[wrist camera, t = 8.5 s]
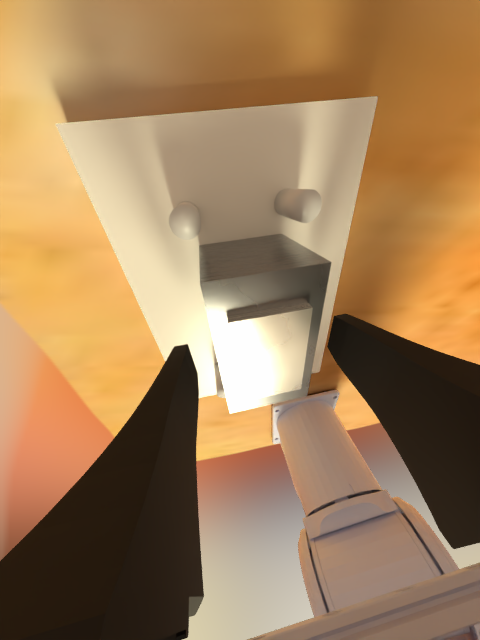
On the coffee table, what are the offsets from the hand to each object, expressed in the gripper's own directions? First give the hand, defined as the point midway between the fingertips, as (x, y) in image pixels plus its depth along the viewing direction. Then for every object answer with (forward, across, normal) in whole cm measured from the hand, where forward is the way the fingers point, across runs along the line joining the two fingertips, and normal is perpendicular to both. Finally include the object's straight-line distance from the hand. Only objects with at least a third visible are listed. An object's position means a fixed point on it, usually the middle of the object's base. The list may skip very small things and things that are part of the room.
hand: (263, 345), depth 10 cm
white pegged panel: (+5, 0, 0) cm, 5 cm away
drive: (+4, 0, 0) cm, 4 cm away
